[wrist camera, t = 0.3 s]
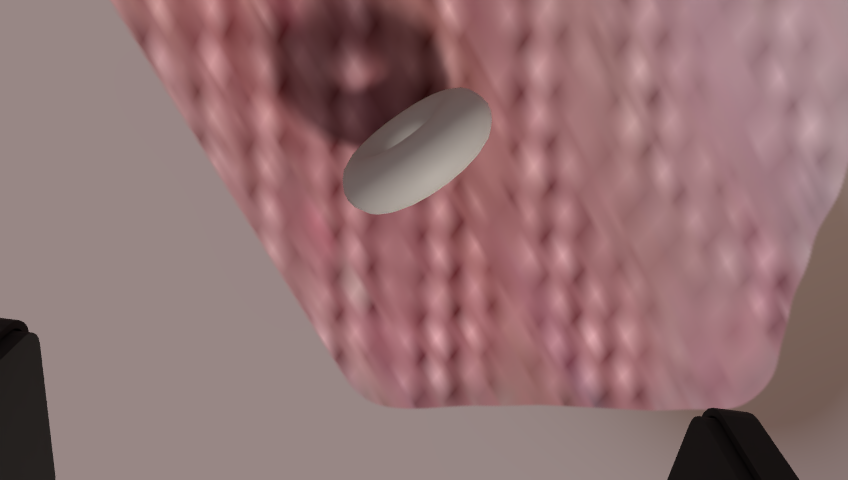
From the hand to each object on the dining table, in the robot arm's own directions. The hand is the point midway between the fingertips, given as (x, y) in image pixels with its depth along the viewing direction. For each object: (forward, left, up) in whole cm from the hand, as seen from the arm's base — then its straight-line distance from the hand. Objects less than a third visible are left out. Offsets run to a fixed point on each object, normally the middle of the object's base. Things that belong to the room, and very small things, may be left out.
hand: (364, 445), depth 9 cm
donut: (+5, +2, -35) cm, 36 cm away
